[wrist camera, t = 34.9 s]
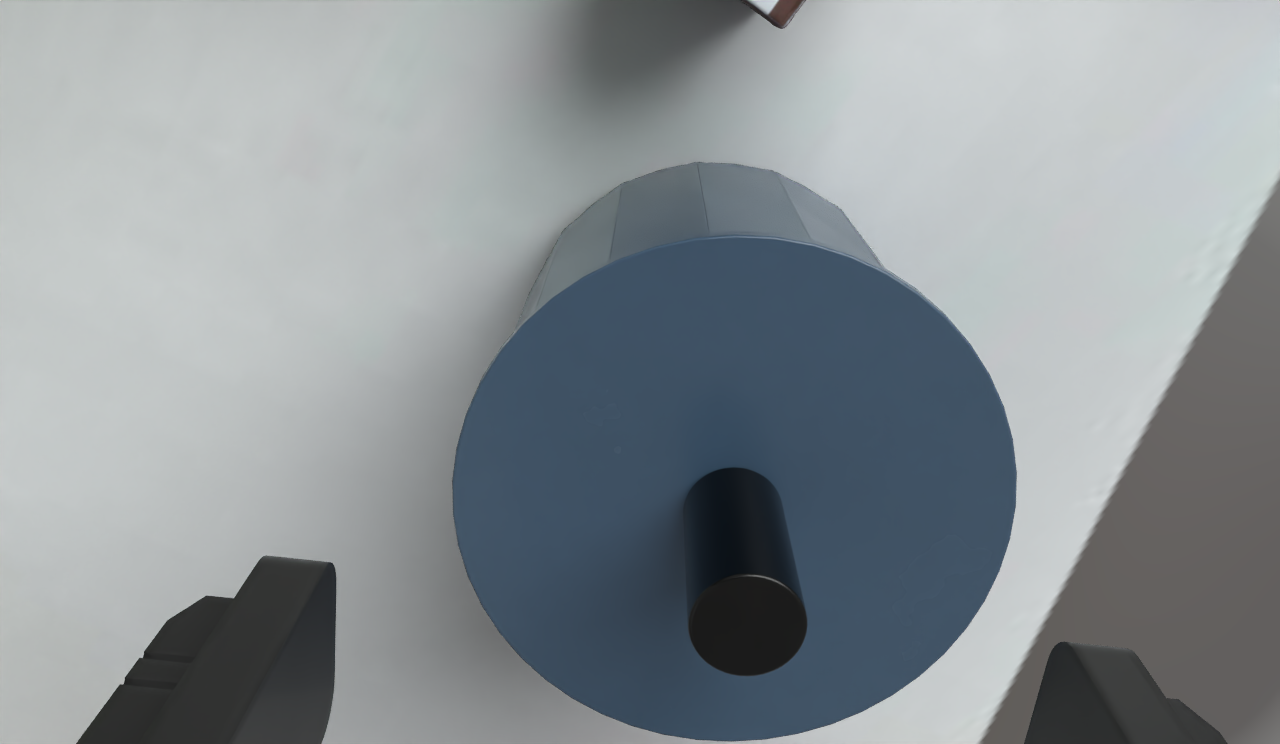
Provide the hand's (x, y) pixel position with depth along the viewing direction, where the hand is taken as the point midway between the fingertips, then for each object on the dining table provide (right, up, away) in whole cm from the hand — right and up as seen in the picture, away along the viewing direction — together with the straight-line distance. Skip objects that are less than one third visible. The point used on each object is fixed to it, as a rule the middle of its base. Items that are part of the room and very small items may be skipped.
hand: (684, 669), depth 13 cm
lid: (+2, 0, +15) cm, 15 cm away
